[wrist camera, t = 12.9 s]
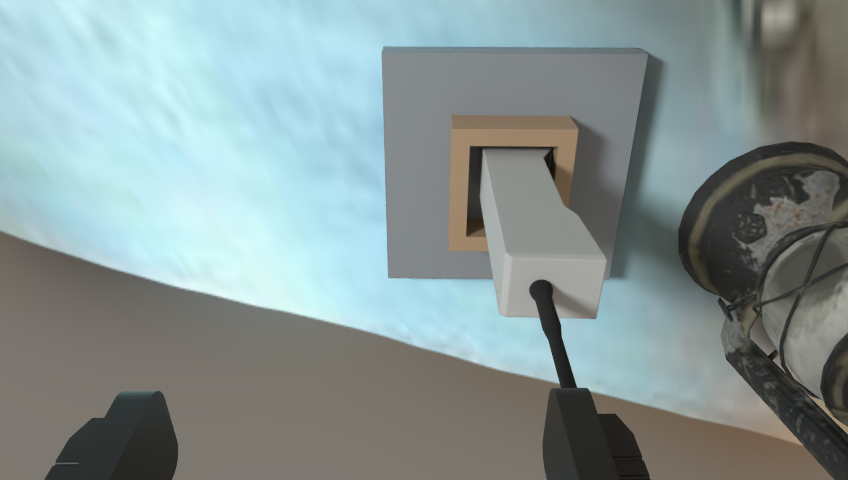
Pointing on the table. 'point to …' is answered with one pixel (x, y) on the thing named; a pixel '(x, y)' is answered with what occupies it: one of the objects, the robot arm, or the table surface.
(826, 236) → the lantern
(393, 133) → the square socket base
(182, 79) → the table surface
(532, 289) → the vintage mobile phone
